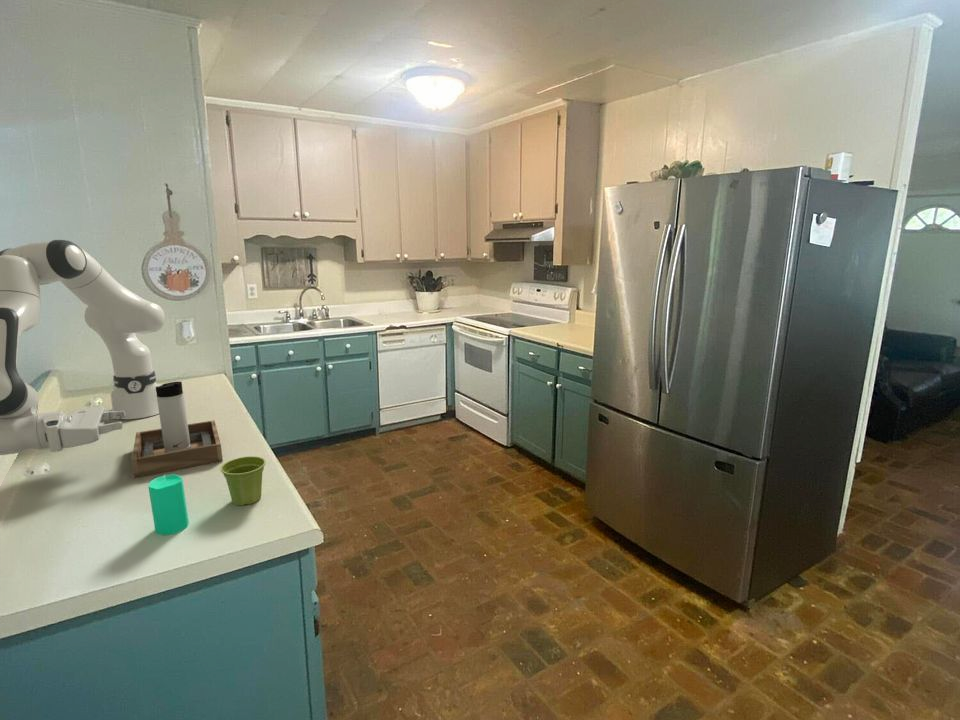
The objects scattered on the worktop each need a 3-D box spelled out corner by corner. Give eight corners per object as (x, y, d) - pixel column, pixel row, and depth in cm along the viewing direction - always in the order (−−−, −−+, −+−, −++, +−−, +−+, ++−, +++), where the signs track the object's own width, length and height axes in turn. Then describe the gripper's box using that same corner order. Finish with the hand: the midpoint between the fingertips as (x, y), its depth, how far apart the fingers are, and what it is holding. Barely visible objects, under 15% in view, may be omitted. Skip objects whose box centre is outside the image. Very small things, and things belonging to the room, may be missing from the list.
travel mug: (181, 457, 140) (170, 386, 136) (159, 455, 141) (149, 384, 137) (197, 448, 146) (188, 379, 142) (176, 446, 147) (167, 378, 143)
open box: (138, 448, 148) (136, 432, 147) (216, 435, 158) (214, 420, 157) (134, 478, 130) (131, 460, 129) (222, 461, 140) (220, 444, 138)
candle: (164, 520, 110) (156, 468, 108) (193, 519, 111) (186, 467, 108) (149, 536, 105) (140, 481, 102) (180, 534, 105) (172, 480, 102)
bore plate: (146, 447, 146) (145, 441, 146) (209, 437, 154) (208, 430, 154) (143, 468, 133) (142, 461, 133) (213, 455, 141) (212, 448, 140)
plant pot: (277, 493, 122) (274, 459, 120) (248, 512, 113) (244, 476, 111) (246, 487, 125) (242, 454, 123) (215, 505, 116) (210, 470, 114)
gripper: (65, 428, 138) (127, 419, 145) (51, 454, 121) (122, 443, 128) (61, 405, 137) (124, 397, 143) (46, 429, 119) (118, 419, 126)
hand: (123, 419), depth 135 cm, fingers open, 8 cm apart
